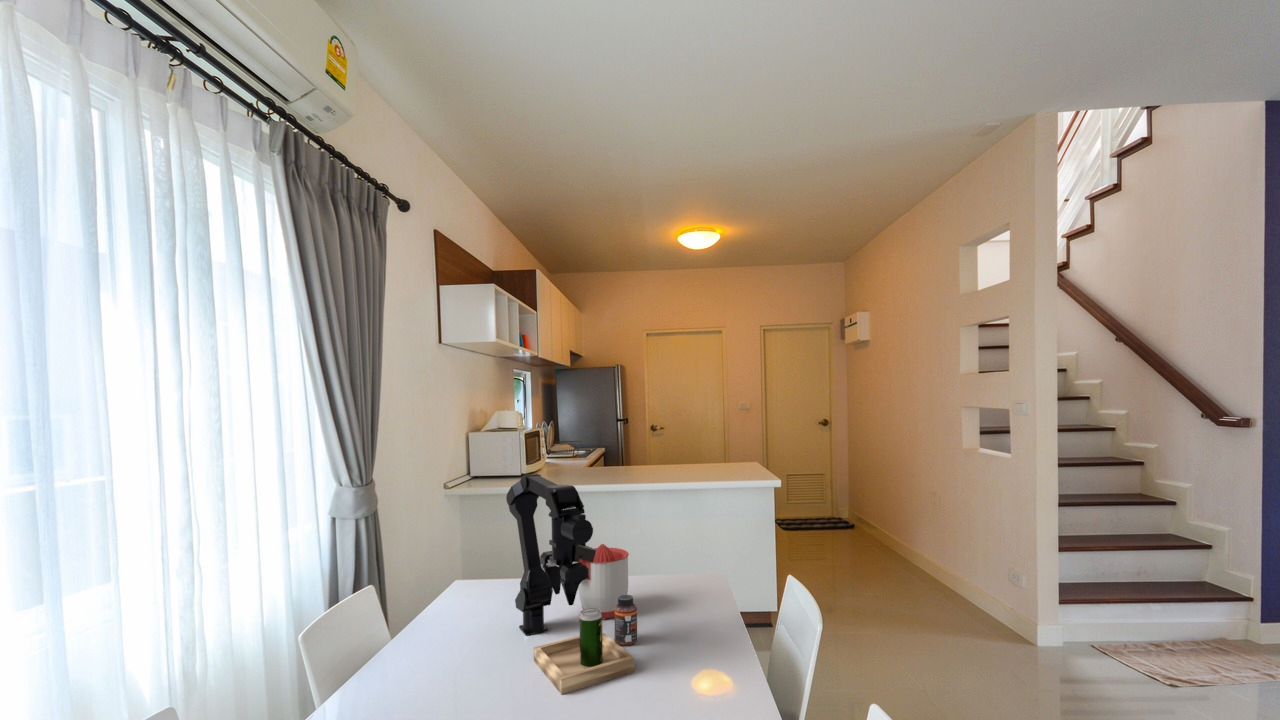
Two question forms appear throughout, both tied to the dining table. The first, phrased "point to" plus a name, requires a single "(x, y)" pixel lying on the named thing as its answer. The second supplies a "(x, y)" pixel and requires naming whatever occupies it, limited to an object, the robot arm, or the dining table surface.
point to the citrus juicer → (605, 580)
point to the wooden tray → (567, 671)
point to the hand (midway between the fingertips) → (564, 599)
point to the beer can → (590, 637)
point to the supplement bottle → (625, 621)
